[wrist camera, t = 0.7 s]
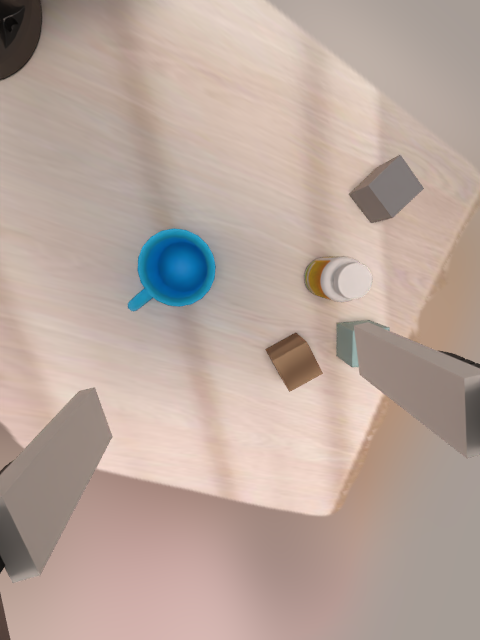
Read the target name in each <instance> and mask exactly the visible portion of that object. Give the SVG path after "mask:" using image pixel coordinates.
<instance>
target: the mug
mask: <svg viewBox="0 0 480 640" xmlns="http://www.w3.org/2000/svg"><path fill="white" fill-rule="evenodd" d="M215 268H216V266H215V262H214V257H213V254H212V252H211V250H210V249H209V247H208V245H207V244H206V243H205V242H204V241H203V240H202V239H201V238H200V237H199V236H198V235H196V234H193V233H191V232H189V231H187V230H182V229H169V230H163V231H161V232H159V233H157V234H155V235H154V236H152V237H151V238H150V239H149V240H148V241H147V242H146V243H145V244H144V246H143V247H142V250H141V252H140V255H139V257H138V273H139V277H140V281H141V283H142V285H143V286H144V289H143V290H142V291H141V292H139V293H138V294H137V295H136V296H135V297H134V298H133V299H132V300H131V301H130V302H129V303H128V308H129V309H130V310H131V311H136V310H138V309H139V308H141V307H142V306H143V305H144V304H146V303H147V302H148V301H150V300H151V299H152V298H155V299H156V300H157V301H159V302H161V303H164V304H166V305H170V306H185V305H190V304H193V303H195V302H196V301H198V300H200V299H202V298H203V296H204V295H205V294H206V293H207V292H208V291H209V290H210V288H211V285H212V283H213V281H214V278H215Z"/></svg>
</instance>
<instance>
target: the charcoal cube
mask: <svg viewBox="0 0 480 640" xmlns="http://www.w3.org/2000/svg"><path fill="white" fill-rule="evenodd" d="M423 189H424V188H423V186H422V185H421V184H420V182H419V181H418V179H417V178H416V176H415V175H414V174H413V172H412V171H411V169H410V168H409V166H408V165H407V164H406V162H405V161H404V159H403V158H402V156H401V155H399V156H397V157H395V158H393V159H391V160H390V161H388V162H386V163H384V164H382V165H381V166H379V167H377V168H376V169H375V170H374V171H373V172H372V173H371V174H370V175H369V176H368V177H367V178H365V179H364V180H363V181H362V182H361V183H360V184H359V185H358V186H357V187H356V188H355V189H354V190H353V191H352V192H351V193H350V194H349V195H350V196H351V198H352V199H353V200H354V202H355V203H356V204H357V206H358V207H359V208H360V209H361V211H362V212H363V213H364V215H365V216H366V217H367V219H368V220H369V221H370V222H371V223H373V222H377V221H382V220H386V219H390V218H393V217H394V216H395V215H396V214H397V213H398V212H399V211H401V210H402V209H403V208H404V207H405V206H406V205H407V204H408V203H409V202H410V201H411V200H412V199H413V198H414V197H415V196H416V195H417V194H419V193H420V192H421V191H422V190H423Z"/></svg>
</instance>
